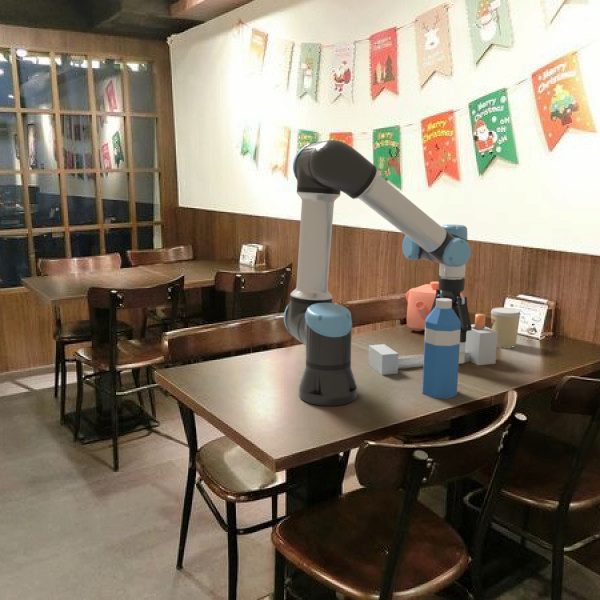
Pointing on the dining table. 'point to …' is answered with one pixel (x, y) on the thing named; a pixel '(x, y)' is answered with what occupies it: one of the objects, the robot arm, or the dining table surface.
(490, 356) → the grey block with recess
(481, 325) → the button
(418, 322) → the teapot
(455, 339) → the water bottle
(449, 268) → the robot arm
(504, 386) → the dining table surface
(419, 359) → the rail
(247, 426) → the dining table surface
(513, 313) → the coffee cup
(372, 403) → the dining table surface
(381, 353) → the block
